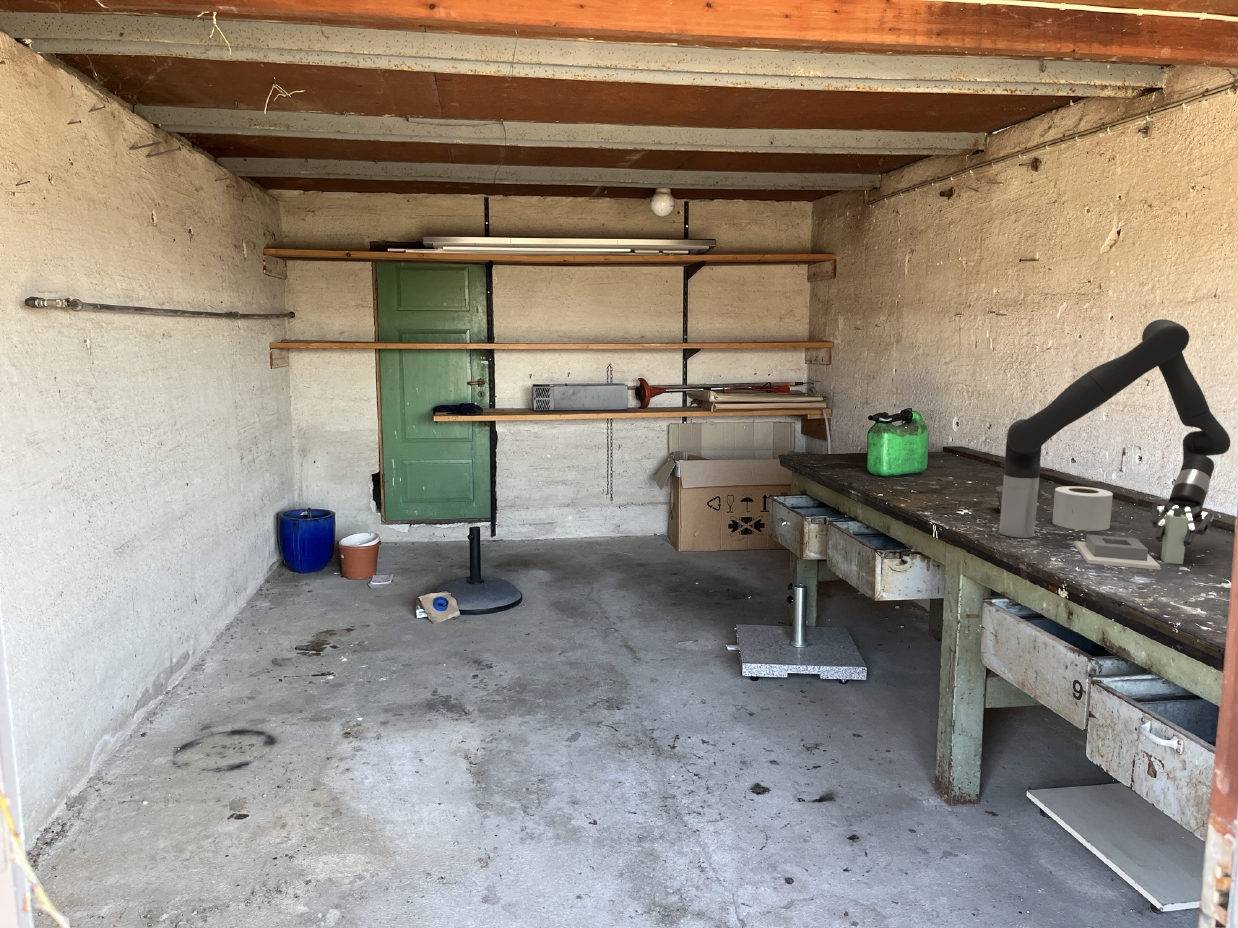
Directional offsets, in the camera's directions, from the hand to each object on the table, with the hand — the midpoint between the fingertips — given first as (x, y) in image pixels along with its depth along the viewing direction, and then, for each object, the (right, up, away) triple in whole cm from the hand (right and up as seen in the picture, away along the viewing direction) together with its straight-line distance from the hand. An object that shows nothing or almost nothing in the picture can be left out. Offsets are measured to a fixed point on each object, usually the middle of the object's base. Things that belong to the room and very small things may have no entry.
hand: (1172, 542), depth 220 cm
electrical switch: (-16, +4, +59) cm, 61 cm away
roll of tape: (-1, +1, +42) cm, 42 cm away
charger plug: (+1, -5, +2) cm, 6 cm away
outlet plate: (-11, -4, +6) cm, 13 cm away
